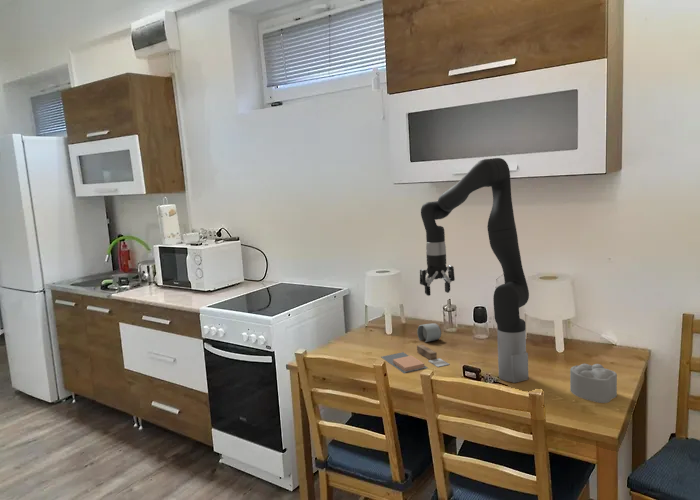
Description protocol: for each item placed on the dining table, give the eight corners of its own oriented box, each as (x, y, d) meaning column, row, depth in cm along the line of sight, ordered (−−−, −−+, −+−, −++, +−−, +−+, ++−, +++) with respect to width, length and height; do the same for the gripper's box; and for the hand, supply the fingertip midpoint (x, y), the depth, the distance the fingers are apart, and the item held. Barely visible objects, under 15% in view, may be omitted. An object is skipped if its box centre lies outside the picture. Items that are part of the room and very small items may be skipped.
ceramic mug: (443, 340, 225) (442, 323, 224) (427, 344, 221) (426, 327, 220) (428, 335, 234) (427, 318, 233) (413, 339, 231) (412, 322, 230)
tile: (411, 359, 204) (424, 367, 195) (393, 363, 201) (405, 371, 192) (411, 355, 204) (424, 363, 195) (392, 359, 201) (405, 367, 192)
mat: (428, 369, 194) (428, 368, 194) (404, 374, 191) (404, 373, 191) (403, 353, 213) (403, 352, 213) (380, 358, 209) (380, 356, 209)
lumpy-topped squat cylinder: (604, 405, 158) (604, 377, 157) (563, 392, 168) (563, 366, 167) (620, 394, 164) (620, 367, 163) (579, 383, 174) (579, 357, 173)
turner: (414, 354, 211) (414, 346, 211) (425, 352, 213) (425, 343, 212) (437, 369, 194) (437, 359, 194) (449, 366, 196) (449, 357, 196)
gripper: (424, 256, 199) (426, 298, 201) (457, 252, 204) (458, 293, 207) (415, 254, 206) (417, 294, 208) (446, 249, 211) (448, 289, 213)
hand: (437, 293), depth 207 cm, fingers open, 8 cm apart
